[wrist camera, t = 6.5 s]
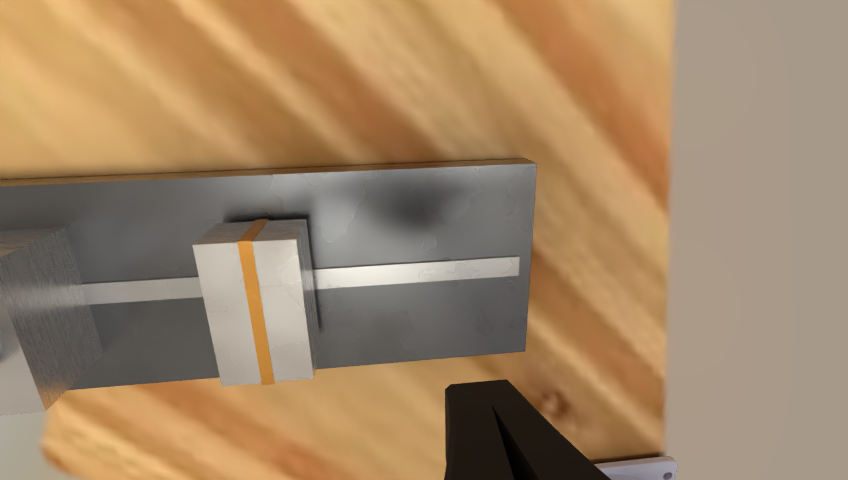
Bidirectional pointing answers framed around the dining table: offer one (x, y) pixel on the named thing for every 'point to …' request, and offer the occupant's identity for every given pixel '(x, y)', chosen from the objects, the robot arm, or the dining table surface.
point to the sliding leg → (260, 300)
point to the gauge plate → (246, 202)
